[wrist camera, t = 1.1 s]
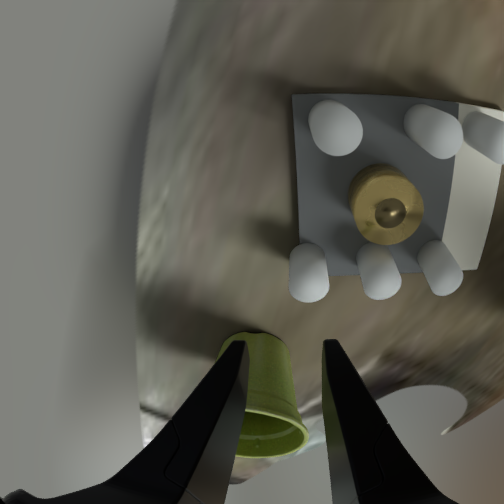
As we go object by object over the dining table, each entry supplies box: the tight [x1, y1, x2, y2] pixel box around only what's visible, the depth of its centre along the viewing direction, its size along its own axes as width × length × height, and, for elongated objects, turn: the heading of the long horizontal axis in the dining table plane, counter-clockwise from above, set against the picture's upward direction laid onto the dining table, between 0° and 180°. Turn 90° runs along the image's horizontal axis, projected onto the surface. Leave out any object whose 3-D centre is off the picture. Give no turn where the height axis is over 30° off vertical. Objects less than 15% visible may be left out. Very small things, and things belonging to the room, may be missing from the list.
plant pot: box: [215, 332, 309, 458], centre depth 25 cm, size 9×9×9 cm
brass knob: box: [348, 163, 424, 245], centre depth 17 cm, size 4×4×3 cm
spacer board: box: [289, 93, 504, 302], centre depth 17 cm, size 15×12×4 cm
